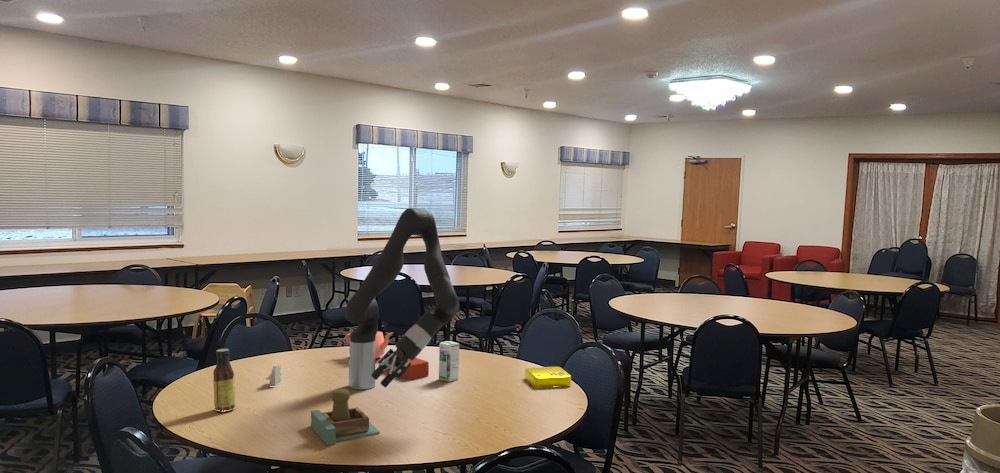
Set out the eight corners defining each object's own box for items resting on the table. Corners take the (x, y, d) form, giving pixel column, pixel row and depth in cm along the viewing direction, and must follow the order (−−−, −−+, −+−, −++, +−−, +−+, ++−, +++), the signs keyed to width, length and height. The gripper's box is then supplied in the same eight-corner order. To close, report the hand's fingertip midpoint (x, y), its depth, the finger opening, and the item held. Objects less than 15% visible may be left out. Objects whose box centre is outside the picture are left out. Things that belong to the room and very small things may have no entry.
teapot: (343, 357, 282) (343, 327, 281) (375, 352, 292) (376, 323, 291) (360, 365, 269) (360, 334, 268) (393, 360, 279) (394, 330, 278)
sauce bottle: (239, 408, 212) (239, 348, 211) (225, 414, 206) (225, 353, 205) (223, 406, 214) (223, 346, 213) (209, 411, 208) (208, 351, 207)
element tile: (559, 376, 259) (559, 365, 259) (572, 387, 245) (572, 375, 244) (523, 378, 256) (523, 366, 255) (534, 389, 241) (534, 376, 241)
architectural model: (265, 388, 236) (265, 368, 236) (273, 383, 243) (272, 363, 243) (274, 389, 236) (274, 368, 236) (281, 383, 243) (281, 364, 243)
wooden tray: (322, 425, 196) (322, 412, 196) (357, 419, 201) (357, 407, 201) (332, 436, 186) (332, 424, 186) (368, 430, 192) (369, 418, 192)
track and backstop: (311, 425, 198) (311, 410, 197) (362, 417, 206) (362, 403, 206) (327, 445, 182) (327, 429, 182) (382, 435, 190) (382, 420, 190)
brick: (428, 376, 255) (429, 361, 255) (409, 380, 249) (410, 365, 249) (403, 367, 269) (403, 353, 268) (384, 371, 262) (384, 356, 262)
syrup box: (438, 379, 251) (438, 342, 250) (449, 376, 255) (449, 340, 254) (448, 382, 247) (448, 344, 246) (459, 379, 251) (459, 342, 250)
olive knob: (332, 422, 196) (332, 387, 195) (352, 422, 196) (352, 387, 195) (328, 430, 190) (328, 393, 189) (349, 429, 190) (349, 393, 189)
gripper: (397, 329, 209) (362, 368, 204) (414, 339, 197) (377, 380, 192) (412, 344, 212) (378, 382, 207) (430, 354, 200) (394, 395, 195)
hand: (377, 381), depth 199 cm, fingers open, 8 cm apart
